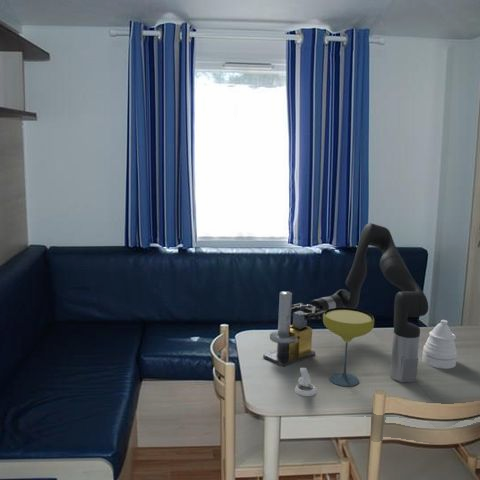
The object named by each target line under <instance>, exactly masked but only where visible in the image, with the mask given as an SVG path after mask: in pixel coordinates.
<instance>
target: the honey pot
mask: <svg viewBox="0 0 480 480" xmlns="http://www.w3.org/2000/svg"><path fill="white" fill-rule="evenodd" d="M428 334H429V336H428V338H427V339H426V342H425V344H424V345H423V348H422V358H421V360H422V362H423V363H424V364H426V365H427V366H430V367H433V368H437V369H453V368H455V367H456V366H457V359H458V358H457V357H458V351H457V347H456V343H455V340H456V335H455V334H454V333H453V332H452V330H451V329H450V326H449V325H448V320H446V319H441V320H440V322H439V323H437V325H436V326H434V328H433V329H432V330H431V331H429V332H428Z"/></svg>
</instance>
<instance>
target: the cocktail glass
mask: <svg viewBox="0 0 480 480" xmlns="http://www.w3.org/2000/svg"><path fill="white" fill-rule="evenodd" d="M322 322H323V325H324V327H326V329H327V330H328V331H330V332H331V333H333V334H334V335H337V336H339V337H341V339H342V340H343V341H344V342H345V351H344V352H345V353H344V363H343V372H337V373H333V374H331V375H330V376H329V378H328V379H329V381H330V382H331V383H332V384H333V385H336V386H340V387H346V388H347V387H349V388H350V387H355V386H357V385H358V384H359V383H360V379H359V378H358V377H357V376H355V375H353V374H350V373H347V358H348V357H347V356H348V346H349V344H348V343H350V342H351V341H352V340H353V339H355V338H359V337H361V336H364V335H368V333H370V332H371V331H372V330H373V329H374V327H375V318H374V316H373V314H371V313H369V312H368V311H366V310H363V309H359V308H355V309H353V308H344V307H342V308H332V309H329V310H326V311H325V312H324V315H323V318H322Z"/></svg>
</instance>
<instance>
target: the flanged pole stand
mask: <svg viewBox="0 0 480 480" xmlns="http://www.w3.org/2000/svg"><path fill="white" fill-rule="evenodd" d="M278 299H279V302H278V303H279V304H278V322H277V323H278V324H277V325H278V326H277V330H276V331H275V330H274V331H272V332H271V333H270V334H269V340H270V341H271V342H272V343H273V342H274V343H276V350H273V351H269V352H267V353H265V354H262V355H263V357H262V358H263V359H265V360H268V361H269V362H272V363H274V364H276V365H278V366H281V367H283V368H284V367H286V366H288V365H291V364H294V363H297V362H300V361H302V360H304V359H308V358H309V357H312V356H315V355H316V351H314V350H312V344H313V343H312V342H313V341H312V340H313V339H312V338H313V327H310V326H306V329H305V330H302V331H298V330H295V329H292V327H293V324H292V325H291V321H292V320H291V319H292V314H291V308H292V305H293V304H292V301H293V292H291V291H280V292H279V298H278Z"/></svg>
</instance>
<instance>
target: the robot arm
mask: <svg viewBox="0 0 480 480" xmlns="http://www.w3.org/2000/svg"><path fill="white" fill-rule="evenodd" d="M369 246H371V247H375V248H378V249H379V250H380V251H381V253H382V256H381V258H380V260H379V267H380V270H381V272H382V274H383V276H384V278H385V279H386V280H387V281H388V282H389V283H391V284H392V285H393V286H395V287H397V288H398V289H399V290H401V291H398V292H397V293H396V294H395V297H394V304H393V307H394V308H393V310H394V311H393V336H392V347H391V348H392V349H391V360H390V369H389V377H390V378H391V379H393V380H395V381H398V382H400V383H403V384H405V383H414V382H415V383H416V382H417V377H418V366H419V357H418V355H419V347H420V346H419V345H420V335H421V328H420V326H418V325H417V324H415V323H412V322H409V321H408V318H413V317H415V318H417V317H423V316H425V315H426V314H428V312H429V302H428V299H427V296H426V294H425V293H424V291H423V290H422V289H421V287H420V286H419V284H418V283H417V282H416V281H415V279H414V278H413V276H412V274H411V273H410V271H409V269H408V267H407V265H406V262H405V261H404V259H403V258H402V256H401V254H400V252H399V250H398V249H397V247H396V244H395V241H394V238H393V236H392V234H391V231H390V230H389V229H388V228H387V227H385V226H383V225H380V224H379V225H378V224H375V223H367V224H366V225H364V227H363V229H362V231H361V233H360V236H359V240H358V245H357V248H356V251H355V255H354V260H353V263H352V266H351V268H350V270H349V273H348V275H347V278H346V279H345V285H346V287H347V288H348V289H349V291H348V290H347V289H344V288H342V289H341V288H340V289H339V290H337V291H336V292H335V293H334V294H332V295H329V296H324V297H319V298H317V299H313V300H311V301H310V303H309V304H304V303H303V302H298V303H295V304H291V315H293V313H294V312H297V311H302V312H305V313H307V314H305V315H304V319H305V320H307V321H308V320H310V319H313V320H314V319H315V320H320V319H323V315H324V312H325V311H326V310H329V309H332V308H353V309H357V307H358V305H359V303H360V295H361V291H362V290H361V288H362V286H363V283H364V281H365V279H366V277H367V272H368V268H367V267H368V266H367V258H366V255H367V250H368V248H369Z"/></svg>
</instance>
